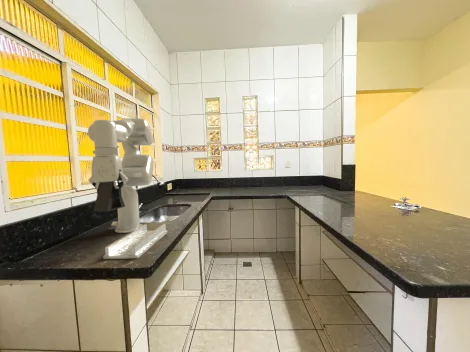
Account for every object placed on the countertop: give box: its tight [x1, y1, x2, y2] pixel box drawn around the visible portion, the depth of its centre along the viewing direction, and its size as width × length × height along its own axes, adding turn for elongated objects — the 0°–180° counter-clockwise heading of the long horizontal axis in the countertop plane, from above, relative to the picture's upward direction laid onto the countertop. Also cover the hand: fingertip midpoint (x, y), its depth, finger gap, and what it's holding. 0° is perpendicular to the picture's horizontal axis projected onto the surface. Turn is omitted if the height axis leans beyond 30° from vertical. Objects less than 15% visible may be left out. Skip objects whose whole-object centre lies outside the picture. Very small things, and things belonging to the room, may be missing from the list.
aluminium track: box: [103, 223, 169, 260], centre depth 83 cm, size 12×28×4 cm, turn 178°
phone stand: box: [93, 180, 125, 212], centre depth 79 cm, size 9×6×12 cm, turn 168°
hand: (109, 198), depth 80 cm, fingers closed on phone stand, 6 cm apart
